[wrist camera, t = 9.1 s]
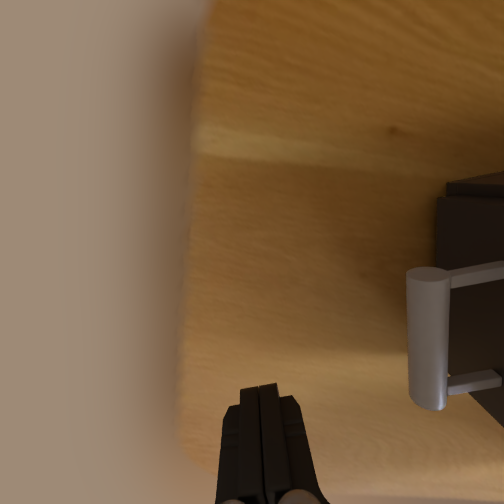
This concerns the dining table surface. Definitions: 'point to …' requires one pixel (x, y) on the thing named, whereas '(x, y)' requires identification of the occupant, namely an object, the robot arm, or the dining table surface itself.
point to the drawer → (460, 308)
